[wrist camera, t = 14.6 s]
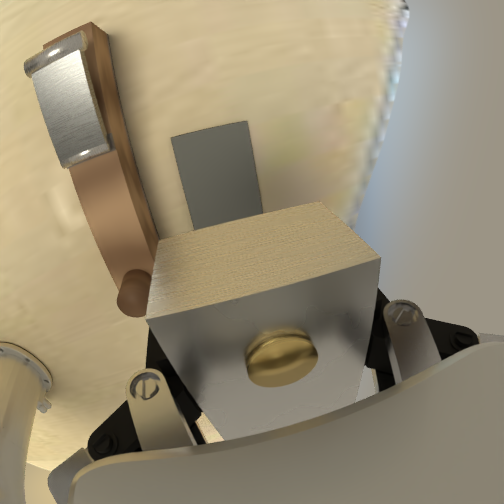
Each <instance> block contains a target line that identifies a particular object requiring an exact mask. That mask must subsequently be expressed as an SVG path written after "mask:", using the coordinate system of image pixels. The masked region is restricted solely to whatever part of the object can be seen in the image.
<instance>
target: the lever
mask: <svg viewBox="0 0 504 504" xmlns="http://www.w3.org/2000/svg"><path fill="white" fill-rule="evenodd" d="M87 48H88V41H87V37H86V34H85V33H84V31H79V32H77V33H75V34H73V35H71V36H69V37H67V38H65V39H63V40H61V41H59V42H57V43H55V44H53V45H51V46H49V47H48V48H46V49H44V50H42V51H41V52H39V53H37V54H35V55H34V56H32V57H30V58H29V59H27V60H26V61H25V62H24V71H25V73H26V75H27V76H28V77H29V78H32V80H33V84H34V87H35V91H36V94H37V98H38V101H39V104H40V108H41V111H42V114H43V117H44V120H45V123H46V126H47V129H48V132H49V134H50V137H51V140H52V143H53V145H54V148H55V151H56V153H57V156H58V158H59V161H60V164H61V166H62V167H63V168H64V169H65V168H67V167H70V166H72V165H74V164H77V163H79V162H82V161H84V160H87V159H89V158H92V157H94V156H97V155H100V154H102V153H105V152H108V151H110V150H111V144H110V141H109V138H108V135H107V132H106V129H105V126H104V123H103V119H102V116H101V113H100V109H99V106H98V103H97V99H96V96H95V92H94V88H93V85H92V81H91V77H90V73H89V69H88V65H87V61H86V57H85V52H84V51H85V50H87Z"/></svg>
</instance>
